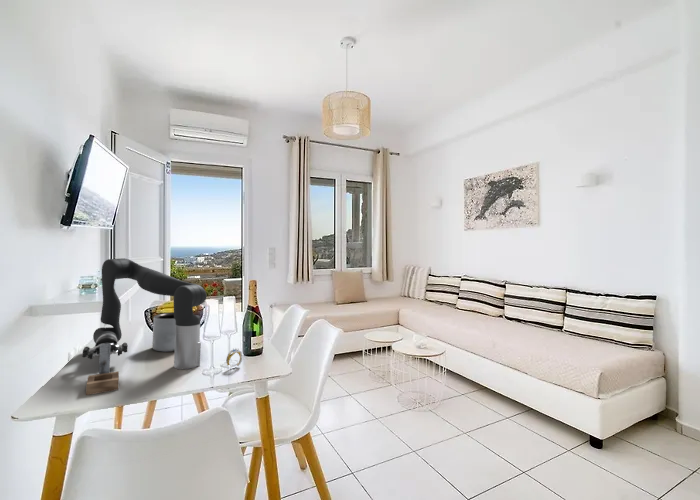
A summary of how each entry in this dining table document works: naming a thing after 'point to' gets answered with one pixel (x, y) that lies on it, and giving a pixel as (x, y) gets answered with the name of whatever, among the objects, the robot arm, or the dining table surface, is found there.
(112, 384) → the wooden square socket block
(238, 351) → the ring
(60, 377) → the dining table surface
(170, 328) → the planter
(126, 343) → the robot arm
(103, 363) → the rod
